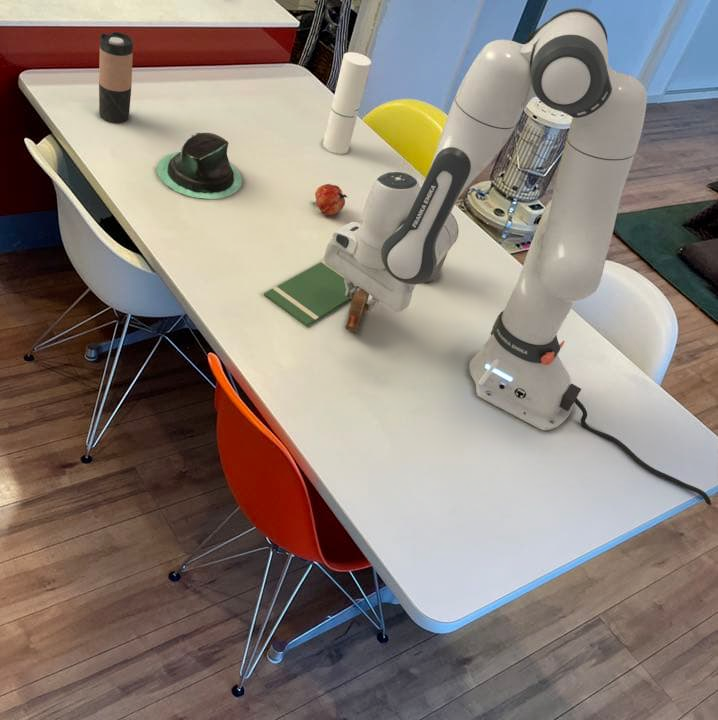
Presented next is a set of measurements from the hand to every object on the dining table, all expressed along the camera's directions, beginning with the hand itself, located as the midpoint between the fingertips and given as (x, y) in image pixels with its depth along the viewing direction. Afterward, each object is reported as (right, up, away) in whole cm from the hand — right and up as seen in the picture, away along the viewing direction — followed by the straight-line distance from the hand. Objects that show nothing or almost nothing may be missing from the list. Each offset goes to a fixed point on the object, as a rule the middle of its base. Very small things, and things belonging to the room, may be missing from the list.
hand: (359, 302), depth 160 cm
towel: (-8, +3, +6) cm, 11 cm away
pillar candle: (+14, +9, +21) cm, 26 cm away
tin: (-1, -3, +3) cm, 4 cm away
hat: (-38, +32, +27) cm, 57 cm away
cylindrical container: (-6, +47, +53) cm, 71 cm away
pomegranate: (-8, +24, +29) cm, 39 cm away
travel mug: (-62, +50, +37) cm, 88 cm away
